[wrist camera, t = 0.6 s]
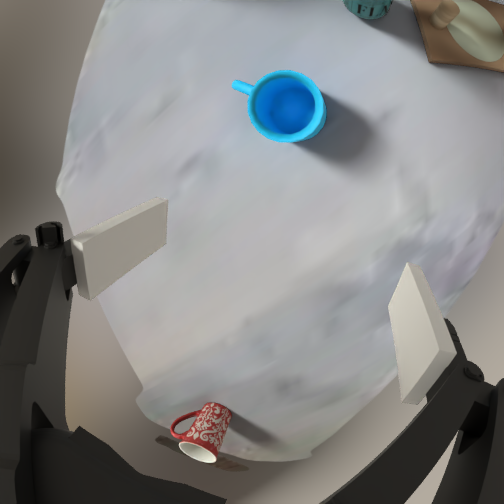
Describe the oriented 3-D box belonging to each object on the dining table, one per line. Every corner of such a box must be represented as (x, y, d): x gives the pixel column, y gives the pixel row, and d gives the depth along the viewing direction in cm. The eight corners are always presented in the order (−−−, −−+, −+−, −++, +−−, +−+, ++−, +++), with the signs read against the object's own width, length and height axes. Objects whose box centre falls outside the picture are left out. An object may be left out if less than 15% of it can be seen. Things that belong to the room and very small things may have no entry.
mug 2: (337, 100, 33) (337, 90, 25) (309, 152, 36) (301, 156, 29) (256, 63, 33) (236, 47, 26) (231, 113, 37) (206, 109, 30)
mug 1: (239, 409, 61) (219, 454, 49) (231, 425, 65) (212, 466, 53) (190, 388, 63) (164, 429, 51) (186, 406, 67) (163, 444, 55)
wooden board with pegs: (406, -10, 22) (416, -34, 16) (504, 9, 16) (525, -5, 10) (428, 62, 26) (446, 48, 20) (525, 77, 21) (552, 72, 14)
